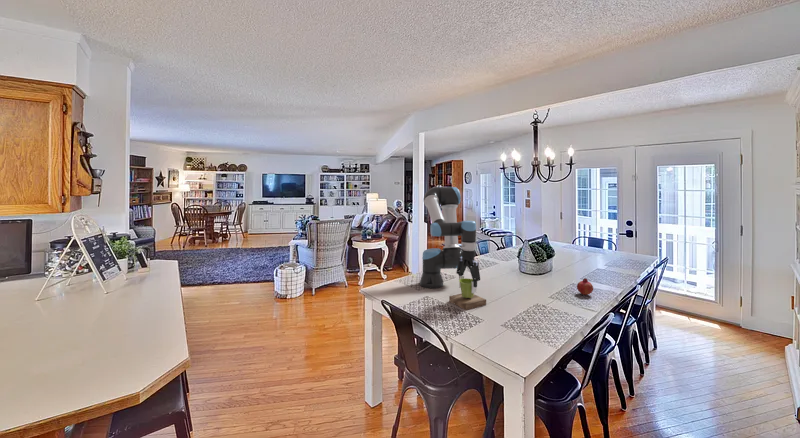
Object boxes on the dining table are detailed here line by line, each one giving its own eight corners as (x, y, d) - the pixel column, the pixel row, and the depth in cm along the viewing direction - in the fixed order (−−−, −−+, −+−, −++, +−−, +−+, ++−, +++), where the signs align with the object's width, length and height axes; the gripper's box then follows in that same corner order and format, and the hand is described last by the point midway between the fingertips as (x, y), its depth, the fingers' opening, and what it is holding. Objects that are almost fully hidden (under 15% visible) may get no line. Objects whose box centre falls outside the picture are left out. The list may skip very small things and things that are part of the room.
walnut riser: (449, 301, 174) (449, 296, 173) (468, 296, 180) (468, 291, 180) (466, 310, 161) (466, 304, 161) (486, 304, 168) (486, 299, 168)
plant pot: (465, 292, 177) (465, 277, 176) (479, 296, 170) (480, 280, 170) (455, 296, 171) (455, 280, 170) (470, 300, 164) (470, 284, 163)
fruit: (594, 297, 178) (596, 280, 177) (579, 296, 180) (580, 279, 178) (589, 292, 186) (590, 276, 185) (574, 292, 187) (575, 275, 186)
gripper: (450, 246, 175) (449, 285, 178) (477, 254, 156) (476, 297, 159) (460, 245, 179) (459, 283, 182) (488, 252, 160) (487, 294, 162)
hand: (467, 289), depth 170 cm, fingers closed on plant pot, 9 cm apart
